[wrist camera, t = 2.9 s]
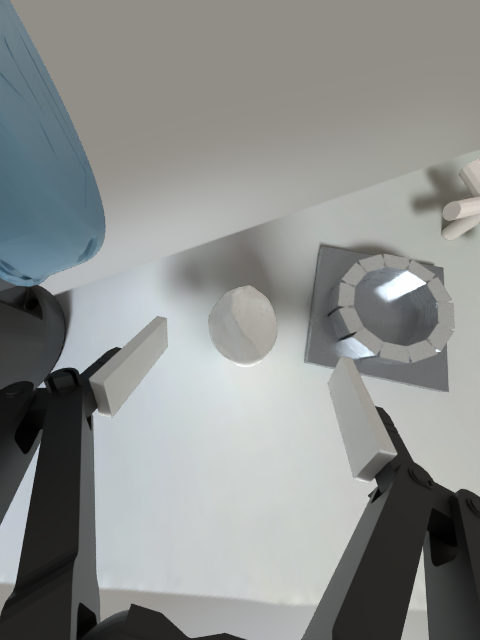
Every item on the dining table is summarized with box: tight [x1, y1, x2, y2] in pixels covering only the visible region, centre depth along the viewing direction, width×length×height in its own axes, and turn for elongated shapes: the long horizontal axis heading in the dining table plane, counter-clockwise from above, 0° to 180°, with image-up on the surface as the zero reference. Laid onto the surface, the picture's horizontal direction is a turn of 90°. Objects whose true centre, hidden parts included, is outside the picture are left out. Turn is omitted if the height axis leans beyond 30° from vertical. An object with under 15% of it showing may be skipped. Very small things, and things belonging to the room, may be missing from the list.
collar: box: [304, 246, 455, 392], centre depth 22 cm, size 14×14×4 cm
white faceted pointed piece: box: [208, 285, 277, 367], centre depth 18 cm, size 6×12×6 cm
